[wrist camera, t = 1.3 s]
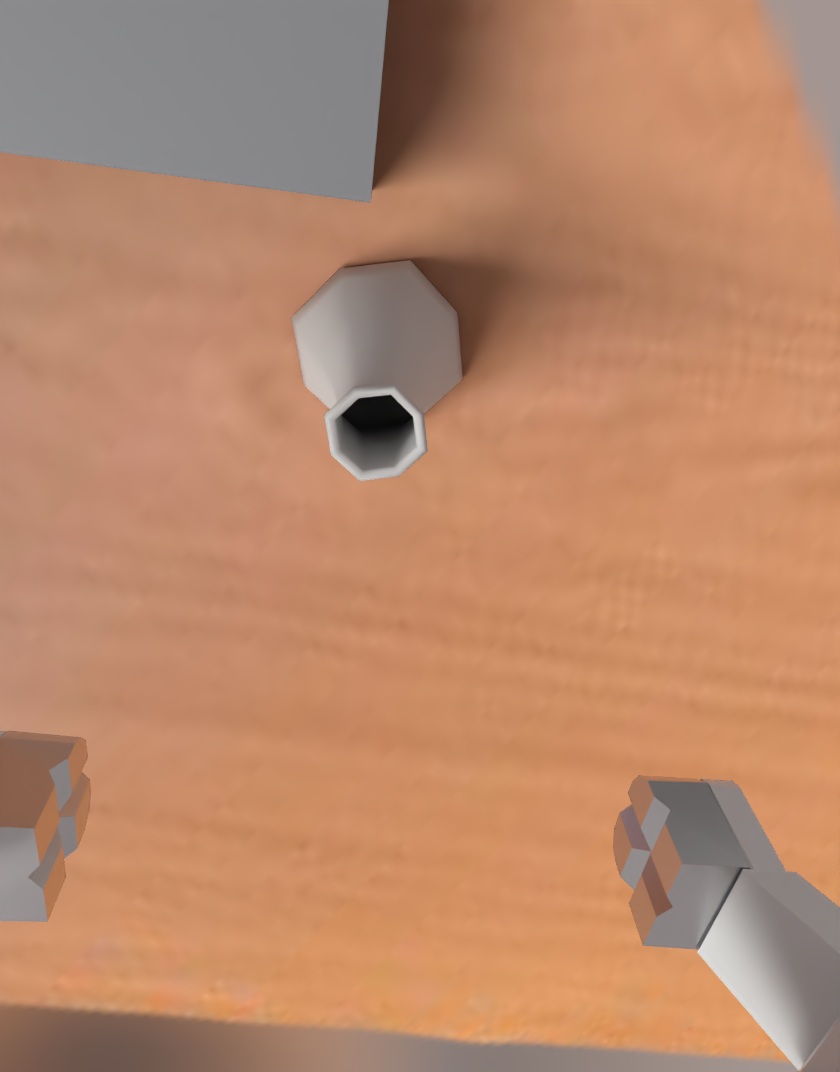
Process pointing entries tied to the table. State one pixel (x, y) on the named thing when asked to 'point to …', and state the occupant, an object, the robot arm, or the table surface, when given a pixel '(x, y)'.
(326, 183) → the grey block
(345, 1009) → the table surface
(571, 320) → the table surface
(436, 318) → the flask
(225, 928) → the table surface
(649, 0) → the table surface
